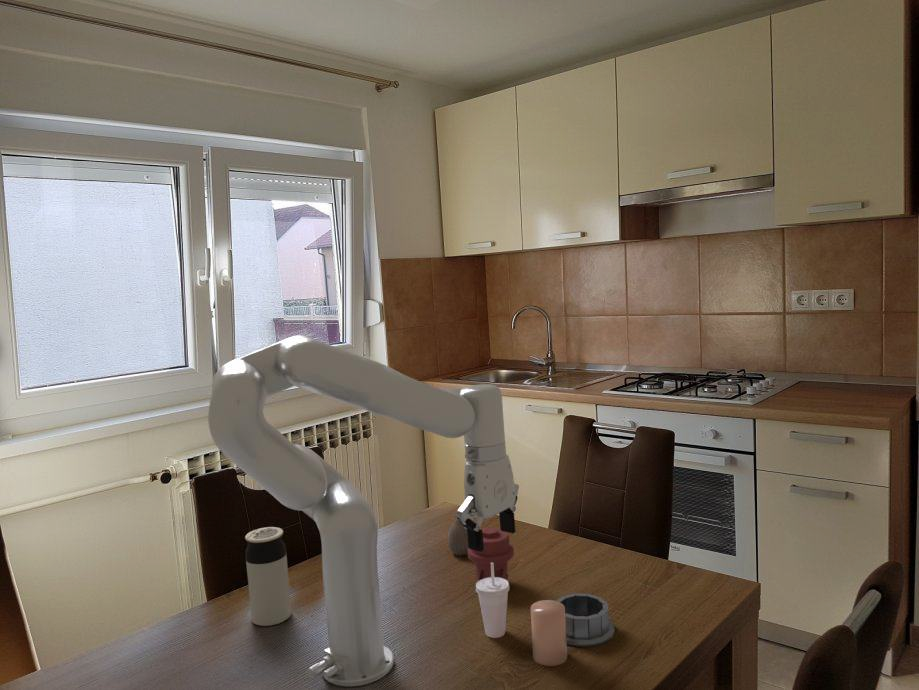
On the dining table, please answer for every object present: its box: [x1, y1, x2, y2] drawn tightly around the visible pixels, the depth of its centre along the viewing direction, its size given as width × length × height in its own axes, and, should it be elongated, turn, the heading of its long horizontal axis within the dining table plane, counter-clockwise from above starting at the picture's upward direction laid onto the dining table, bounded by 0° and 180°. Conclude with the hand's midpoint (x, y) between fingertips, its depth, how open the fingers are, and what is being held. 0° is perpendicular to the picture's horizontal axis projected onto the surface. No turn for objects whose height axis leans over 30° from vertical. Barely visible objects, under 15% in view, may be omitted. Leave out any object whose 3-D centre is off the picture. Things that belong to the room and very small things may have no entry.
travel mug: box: [244, 526, 292, 627], centre depth 143 cm, size 8×8×18 cm
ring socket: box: [555, 593, 616, 648], centre depth 132 cm, size 12×12×5 cm
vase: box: [447, 516, 469, 557], centre depth 171 cm, size 7×7×9 cm
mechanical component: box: [467, 526, 515, 582], centre depth 153 cm, size 12×10×10 cm
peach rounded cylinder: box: [530, 599, 568, 667], centre depth 123 cm, size 6×6×9 cm
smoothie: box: [475, 563, 510, 639], centre depth 132 cm, size 6×6×14 cm
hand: (492, 540), depth 131 cm, fingers open, 9 cm apart
